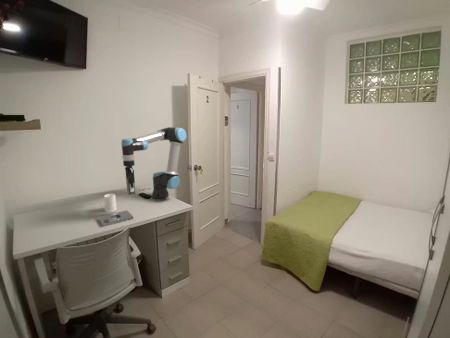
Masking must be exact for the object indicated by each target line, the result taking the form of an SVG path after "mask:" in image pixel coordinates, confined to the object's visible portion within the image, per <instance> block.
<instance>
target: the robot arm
mask: <svg viewBox="0 0 450 338" xmlns="http://www.w3.org/2000/svg"><path fill="white" fill-rule="evenodd" d="M186 139H187V132H186V130H185V129H184V128H181V127H171V126H170V127H165V128H164V127H163V128H162V129H159V130H156V131H155V132H152V133H147V134H144V135H141V136H137V137H133V138H123V139H121V151H122V152H121V153H122V156H121V157H122V164H123V167H124V170H125V179H126V178H129V179H130V183H129V184H130V192H134V183H136V181H135V170H134V167H133V166H135V152H139V151H146V150H147V149H148V148H149V144H152V143H154V142H158V141H161V142H162V141H168V142H169V144H170V147H169V151H168V152H169V153H168V160H167V166H166V171H156V172H154V173H153V174H152V182H153V183H152V185H153V189H152V193H151V198H153V199H155V200H162V199H166V198H168V197H169V196H170V195H169V194H170V193H169V190H168V189H170V190H175V189H176V188H177V187H179V185H180V181H181V180H180V177H179V173H178V165H179V157H180V150H181V146H182V145H183V143H184V142H185V141H186Z"/></svg>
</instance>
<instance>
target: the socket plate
mask: <svg viewBox="0 0 450 338" xmlns="http://www.w3.org/2000/svg"><path fill="white" fill-rule="evenodd" d="M131 219H132V220H134V216H133V215H132V213H130V212H129V211H128V210H123V211H119V212H114V213H109V214H105V215H100V216H97V220H98V221H99V223H100V225H101V226H102V227H104V228H105V227H107V226H112V225H115V224H119V223H122V222H128V221H130V220H131ZM127 220H128V221H127Z"/></svg>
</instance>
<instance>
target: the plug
mask: <svg viewBox="0 0 450 338" xmlns="http://www.w3.org/2000/svg"><path fill="white" fill-rule="evenodd" d="M125 182H126V191H127V192H126V193H127V195H128V196H129V195H135V194H136V184H135V183H136V182H135V183H134V192H130V184H129V183H130V179H129V178H126V177H125Z"/></svg>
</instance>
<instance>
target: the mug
mask: <svg viewBox="0 0 450 338" xmlns="http://www.w3.org/2000/svg"><path fill="white" fill-rule="evenodd" d="M116 197H117V196H116V194H115V193H107V194H104V195H103V197H102V198H101V199H100V200H99V203H101V202H102V201H103V200H104V201H103V202H104V205H101V204H99V206H100V207H101V208H103V209H104V211H105V212H108V213H109V212H111V213H112V212H115V211H117V209H118V208H117V199H116Z"/></svg>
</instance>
